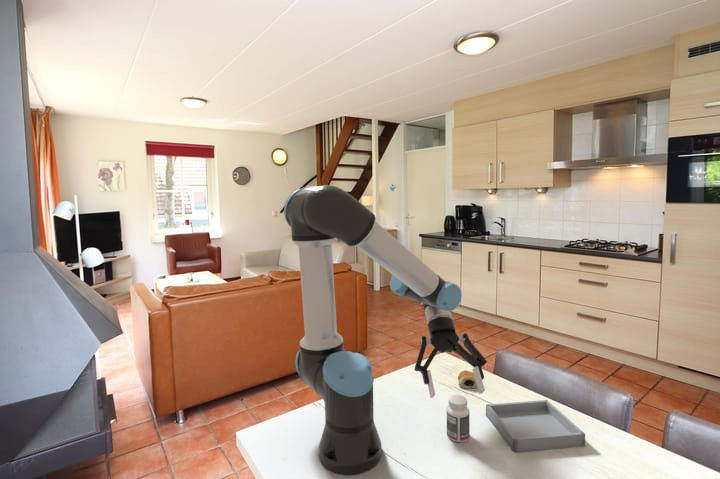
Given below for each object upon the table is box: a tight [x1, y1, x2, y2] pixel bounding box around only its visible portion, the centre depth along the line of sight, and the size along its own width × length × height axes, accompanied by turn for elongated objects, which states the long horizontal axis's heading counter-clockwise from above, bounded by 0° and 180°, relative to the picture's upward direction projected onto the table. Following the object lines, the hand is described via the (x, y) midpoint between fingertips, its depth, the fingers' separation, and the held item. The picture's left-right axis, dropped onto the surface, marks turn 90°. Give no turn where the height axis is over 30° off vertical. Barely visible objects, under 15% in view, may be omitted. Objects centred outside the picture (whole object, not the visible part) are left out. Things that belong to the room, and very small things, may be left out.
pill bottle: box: [446, 394, 471, 443], centre depth 98 cm, size 6×6×10 cm
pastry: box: [457, 370, 478, 389], centre depth 127 cm, size 9×7×4 cm
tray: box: [485, 399, 586, 454], centre depth 100 cm, size 18×16×3 cm
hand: (457, 394), depth 101 cm, fingers open, 13 cm apart
